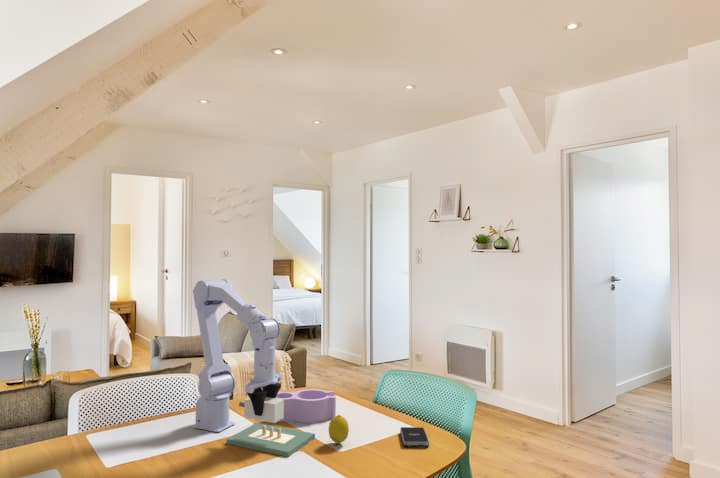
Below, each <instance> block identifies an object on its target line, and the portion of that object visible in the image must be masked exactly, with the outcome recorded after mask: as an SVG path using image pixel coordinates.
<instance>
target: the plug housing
mask: <svg viewBox="0 0 720 478" xmlns="http://www.w3.org/2000/svg"><path fill="white" fill-rule="evenodd" d="M238 406H239V407H241V408H244V409H243V412H244V413H243V414H244V415H243V417H244V418H245V419H251V420H255V421H261V422H266V423H274V424H276V423H277V422H280V421H279V420H281V419H283V418H284V400H282V399H276V398H270V397H265V400H264V408H263V414H262V416H257V415H255V414H254V409H253V405H252V402H251V400H250V398H249V397H247V398H244V402H243V401H240V402H239V403H238Z"/></svg>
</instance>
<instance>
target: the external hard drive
mask: <svg viewBox="0 0 720 478" xmlns="http://www.w3.org/2000/svg"><path fill="white" fill-rule="evenodd" d="M399 430H400V432H399V434H400V438H401V440H402V445H403V447H404V448H414V449H415V448H417V449H418V448H419V449H421V448H423V449H425V448H429V447H430V441H429V438H428V436H427V432H426V430H425V427H419V426H415V427H414V426H411V427H406V426H405V427H403V426H402V427H400V429H399Z"/></svg>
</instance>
